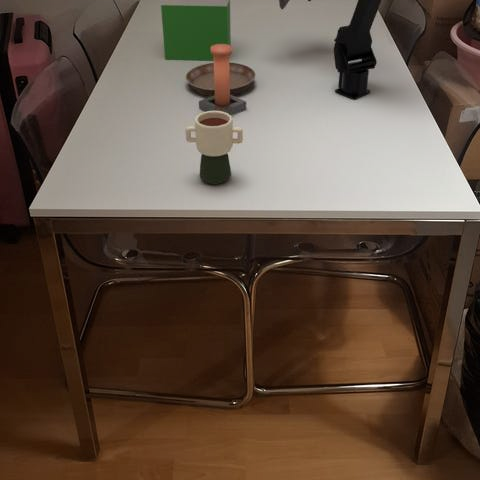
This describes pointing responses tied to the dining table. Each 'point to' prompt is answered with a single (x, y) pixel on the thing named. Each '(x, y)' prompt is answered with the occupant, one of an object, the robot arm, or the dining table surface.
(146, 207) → the dining table surface
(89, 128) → the dining table surface
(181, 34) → the hardback book
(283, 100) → the dining table surface
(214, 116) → the cream and green cup
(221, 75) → the stop pin
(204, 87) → the plant saucer
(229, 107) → the collar
